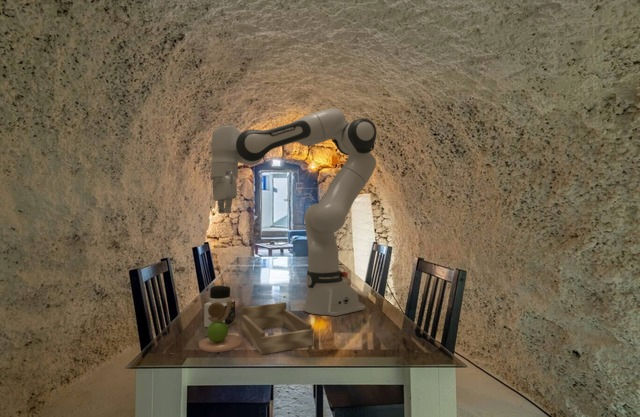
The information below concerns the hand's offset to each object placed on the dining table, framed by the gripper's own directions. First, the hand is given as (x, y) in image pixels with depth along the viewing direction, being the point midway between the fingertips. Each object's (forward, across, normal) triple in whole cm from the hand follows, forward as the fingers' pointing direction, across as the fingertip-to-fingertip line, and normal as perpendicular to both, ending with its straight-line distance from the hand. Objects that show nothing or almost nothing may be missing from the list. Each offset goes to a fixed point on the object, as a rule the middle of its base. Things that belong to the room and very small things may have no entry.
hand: (224, 213), depth 121 cm
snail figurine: (+34, -26, +7) cm, 44 cm away
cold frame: (+35, -28, -8) cm, 46 cm away
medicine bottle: (+35, -8, +3) cm, 36 cm away
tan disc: (+35, -26, +6) cm, 44 cm away
